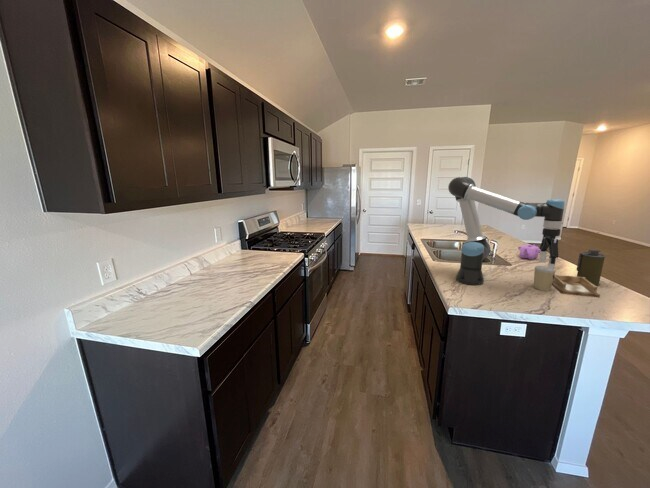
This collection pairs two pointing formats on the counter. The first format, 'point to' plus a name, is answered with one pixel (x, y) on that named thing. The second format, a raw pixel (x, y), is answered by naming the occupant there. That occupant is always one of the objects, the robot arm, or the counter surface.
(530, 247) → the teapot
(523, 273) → the counter surface
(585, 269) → the canister
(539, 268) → the coffee cup
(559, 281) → the dock
